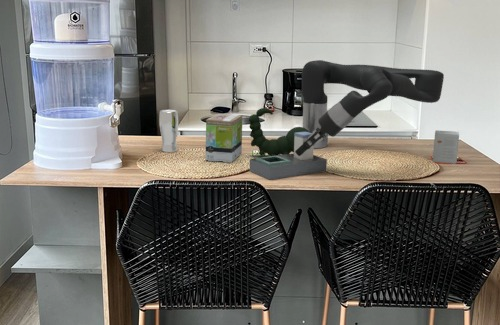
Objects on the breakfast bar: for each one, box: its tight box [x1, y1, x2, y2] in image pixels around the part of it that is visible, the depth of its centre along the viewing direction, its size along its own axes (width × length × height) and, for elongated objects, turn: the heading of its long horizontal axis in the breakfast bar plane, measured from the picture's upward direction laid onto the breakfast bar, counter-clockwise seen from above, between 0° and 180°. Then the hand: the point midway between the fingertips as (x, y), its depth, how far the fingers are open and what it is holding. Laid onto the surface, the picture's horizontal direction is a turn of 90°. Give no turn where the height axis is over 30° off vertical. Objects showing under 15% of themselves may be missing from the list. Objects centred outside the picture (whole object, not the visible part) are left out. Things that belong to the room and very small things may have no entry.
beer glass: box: [158, 109, 179, 153], centre depth 204 cm, size 7×7×15 cm
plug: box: [293, 132, 314, 160], centre depth 180 cm, size 5×5×12 cm
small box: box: [432, 130, 460, 165], centre depth 194 cm, size 8×6×10 cm
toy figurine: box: [248, 107, 312, 156], centre depth 196 cm, size 9×19×25 cm
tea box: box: [204, 113, 243, 163], centre depth 195 cm, size 15×10×15 cm, turn 168°
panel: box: [249, 152, 328, 181], centre depth 178 cm, size 22×12×5 cm, turn 121°
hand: (300, 151), depth 181 cm, fingers open, 8 cm apart
